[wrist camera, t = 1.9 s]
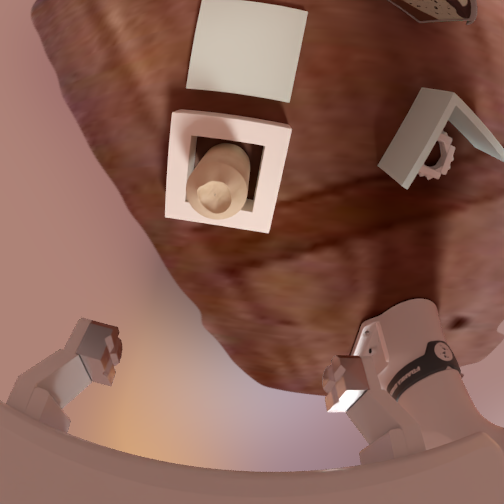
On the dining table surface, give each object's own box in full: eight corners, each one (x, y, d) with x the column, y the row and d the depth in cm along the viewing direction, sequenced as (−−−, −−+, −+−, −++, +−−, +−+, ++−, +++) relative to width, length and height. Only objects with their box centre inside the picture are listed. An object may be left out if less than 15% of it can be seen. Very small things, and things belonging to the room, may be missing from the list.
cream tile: (288, 102, 28) (289, 102, 27) (188, 88, 27) (186, 88, 26) (306, 13, 22) (308, 11, 21) (204, 0, 21) (202, -3, 20)
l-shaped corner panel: (375, 164, 32) (401, 185, 25) (419, 87, 26) (454, 92, 19) (436, 207, 34) (463, 233, 28) (475, 140, 28) (509, 156, 22)
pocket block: (268, 219, 36) (268, 233, 33) (173, 204, 35) (165, 217, 32) (288, 124, 29) (291, 129, 26) (181, 109, 28) (172, 112, 26)
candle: (193, 168, 32) (169, 202, 24) (222, 132, 30) (207, 153, 22) (230, 196, 34) (220, 238, 26) (260, 162, 32) (260, 194, 23)
